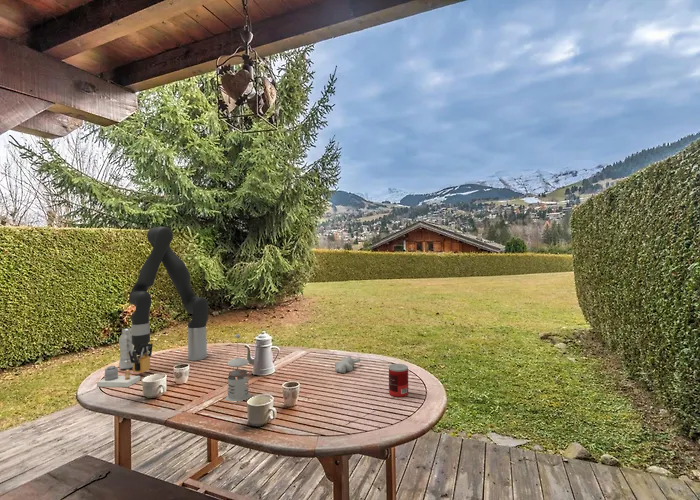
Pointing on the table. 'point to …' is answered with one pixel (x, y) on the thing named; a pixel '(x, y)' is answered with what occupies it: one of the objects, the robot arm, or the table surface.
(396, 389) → the canned food
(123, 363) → the plastic bottle
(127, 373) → the copper post
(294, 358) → the table surface
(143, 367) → the domed tan cube
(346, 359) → the bunny figurine
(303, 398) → the table surface
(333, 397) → the table surface
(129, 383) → the white rectangular plate
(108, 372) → the capped post
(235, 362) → the french press
